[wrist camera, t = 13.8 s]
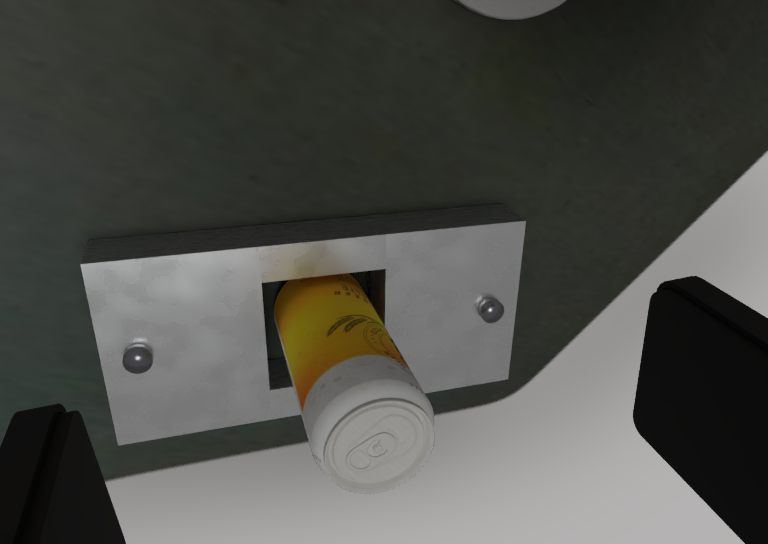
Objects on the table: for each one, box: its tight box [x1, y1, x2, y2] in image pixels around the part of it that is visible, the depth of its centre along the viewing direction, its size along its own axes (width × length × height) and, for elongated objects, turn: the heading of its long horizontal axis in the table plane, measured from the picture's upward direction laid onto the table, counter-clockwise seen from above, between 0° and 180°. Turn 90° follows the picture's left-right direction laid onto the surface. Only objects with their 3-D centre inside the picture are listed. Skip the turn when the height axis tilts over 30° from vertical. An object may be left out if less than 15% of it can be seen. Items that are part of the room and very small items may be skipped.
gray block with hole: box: [80, 204, 526, 445], centre depth 40 cm, size 26×12×4 cm, turn 89°
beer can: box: [274, 273, 434, 494], centre depth 35 cm, size 6×6×15 cm
